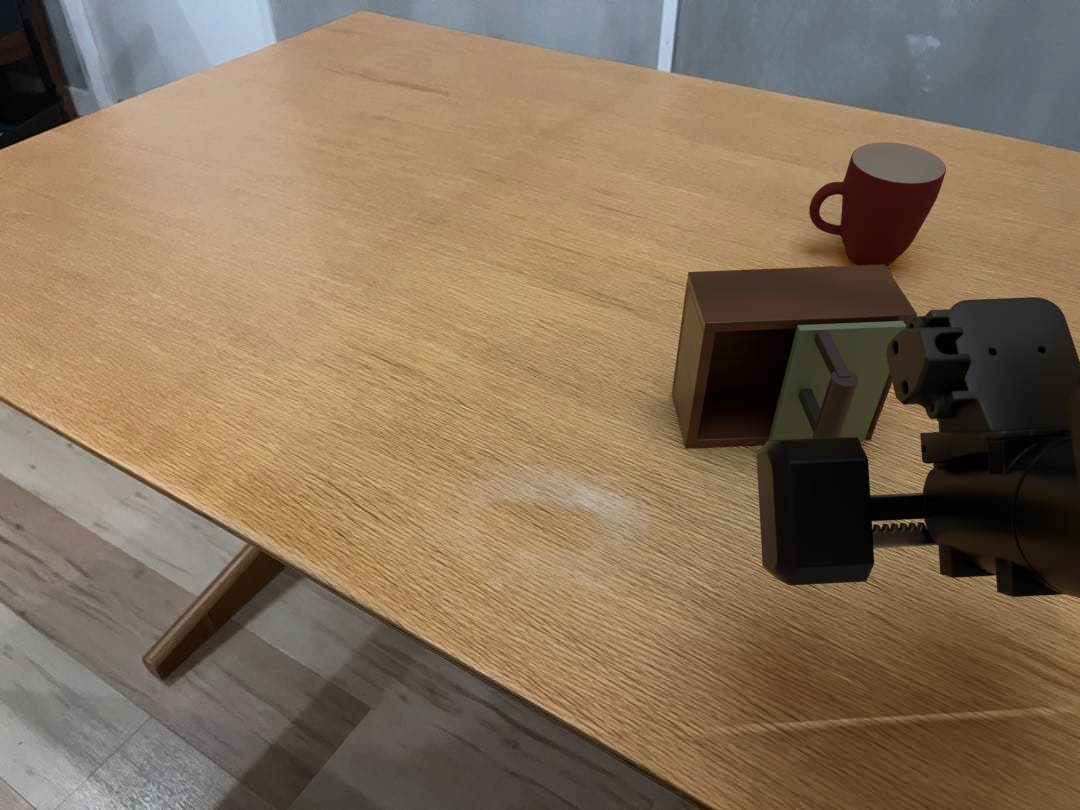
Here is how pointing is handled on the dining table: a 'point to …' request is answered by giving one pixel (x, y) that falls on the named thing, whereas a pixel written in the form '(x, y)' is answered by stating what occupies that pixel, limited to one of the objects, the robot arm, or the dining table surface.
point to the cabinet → (763, 341)
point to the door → (833, 380)
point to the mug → (882, 200)
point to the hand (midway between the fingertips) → (889, 489)
